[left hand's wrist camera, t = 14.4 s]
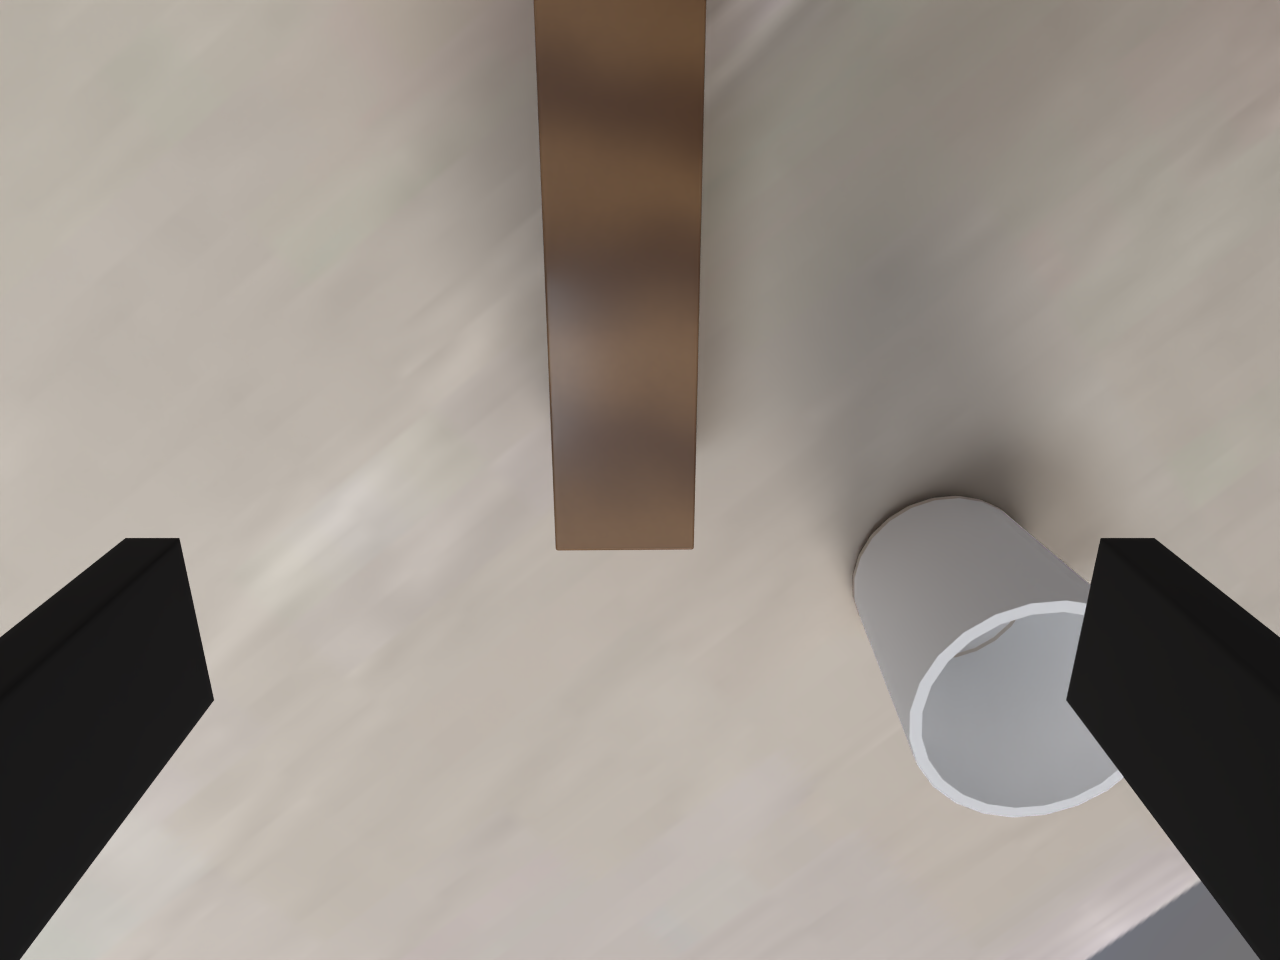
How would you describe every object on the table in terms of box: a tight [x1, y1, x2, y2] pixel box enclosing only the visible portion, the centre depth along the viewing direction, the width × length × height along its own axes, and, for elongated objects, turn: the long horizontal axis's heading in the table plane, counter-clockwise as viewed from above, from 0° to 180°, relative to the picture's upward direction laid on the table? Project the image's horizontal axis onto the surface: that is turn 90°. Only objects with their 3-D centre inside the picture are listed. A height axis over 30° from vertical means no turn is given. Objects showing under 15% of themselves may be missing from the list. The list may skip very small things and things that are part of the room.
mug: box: [853, 496, 1124, 817], centre depth 35 cm, size 11×9×10 cm
